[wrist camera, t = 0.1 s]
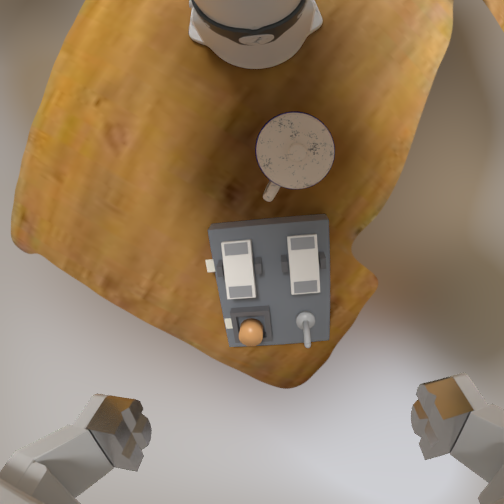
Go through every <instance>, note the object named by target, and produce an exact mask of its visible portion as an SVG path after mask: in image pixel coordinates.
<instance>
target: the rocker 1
mask: <svg viewBox="0 0 504 504" xmlns="http://www.w3.org/2000/svg"><path fill="white" fill-rule="evenodd" d="M221 247H222V257H223V266H224V275H225V283H226V292H227V299H241V298H256V284H255V274H254V263H253V253H252V242H251V239H247V240H235V241H224V242H222V243H221Z"/></svg>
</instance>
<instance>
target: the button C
mask: <svg viewBox="0 0 504 504" xmlns="http://www.w3.org/2000/svg"><path fill="white" fill-rule="evenodd" d="M262 339H263V325H262V323H261V322H260V321H259V320H257V319H253V318H249V319H246V320H244V321H243V322H242V323H241V325H240V331H239V340H240V342H241V343H242V344H244V345H246V346H256V345H258V344H260V343H261V341H262Z"/></svg>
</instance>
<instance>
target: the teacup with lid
mask: <svg viewBox="0 0 504 504" xmlns="http://www.w3.org/2000/svg"><path fill="white" fill-rule="evenodd" d="M255 153H256V159H257V162H258V165H259V167H260V169H261V171H262V172H263V174H264V175H265V176H266V177H267V178H268V179H269V182H268V184H267V187H266V189H265V191H264V194H263V199H264V200H266V201H268V202H270V201H272V200H273V199H274V197H275V196H276V194H277V192H278V190H279V189H280V187H284V188H287V189H304V188H308V187H311V186H313V185H315V184H317V183H318V182H320V181H321V180H322V179H323V178H324V177H325V176H326V175H327V174H328V172H329V171H330V169H331V167H332V164H333V161H334V156H335V146H334V141H333V138H332V135H331V133H330V132H329V130H328V129H327V127H326V126H325V125H324V124H323V123H322V122H321V121H320V120H319V119H317V118H316V117H314V116H312V115H310V114H307V113H303V112H286V113H282V114H279V115H277V116H275V117H273V118H272V119H271V120H269V121H268V122H267V123H266V124H265V125H264V126H263V128H262V129H261V131H260V132H259V135H258V137H257V141H256V146H255Z"/></svg>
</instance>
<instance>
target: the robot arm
mask: <svg viewBox="0 0 504 504" xmlns="http://www.w3.org/2000/svg"><path fill="white" fill-rule="evenodd" d="M189 7H190V8H192V11H191V17H190V26H189V36H190V38H191V39H192V40H193V41H195V42H198V43H200V44H203V45H206V46H208V47H209V48H210V49H211V50H212V51H213V52H214V53H215V54H216V55H218V56H219V57H220V58H221V59H223V60H224V61H226V62H228V63H230V64H232V65H235V66H238V67H242V68H248V69H263V68H269V67H273V66H276V65H278V64H281V63H283V62H285V61H286V60H288V59H289V58H291V57H292V56H293V55H294V54H295V53H296V52H297V51H298V50H299V49H300V47H301V46H302V44H303V43H304V41H305V39H306V38H307V36H308V35H309V34H311V33H313V32H314V31H316V30H317V29H319V28H320V27H321V25H322V22H323V19H322V16H321V13H320V11H319V9H318V7H317V4H316V2H315V0H189ZM416 395H417V397H418V400H417V401H416V402H415V403H414V404H413V407H412V411H411V423H412V427H413V430H414V433H415V434H417V435H418V436H420V437H421V440H420V443H419V445H420V448H421V450H422V453H423V456H424V458H425V460H427V459H431V458H434V457H438V456H441V455H445V454H448V453H450V455H452V456H453V457H454V458H456V459H457V460H458V461H460V462H461V463H463V464H464V465H465V466H466V467H468V468H469V469H471V470H472V471H473V472H475V473H476V474H477V475H479V476H480V477H482V478H483V479H484V480H486V481H487V482H488V483H489V484H488V485H487V486H486V488H485V489H484V490H483V491H482V492H481V494H480V495H479V497H478V499H479V502H480V504H504V409H502V408H500V407H498V406H496V405H494V404H491V405H488V403H487V402H486V401H485V399H484V398H483V396H482V395H481V393H480V392H479V391H478V389H477V388H476V386H475V385H474V384H473V382H472V381H471V379H470V378H469V376H468V375H467V374H465V373H461V374H457V375H453V376H450V377H446V378H443V379H439V380H435V381H431V382H427V383H423V384H420V385H419V387H418V389H417V393H416ZM142 410H143V407H142V405H141V403H140V401H138V400H136V399H129V398H122V397H116V396H108V395H103V394H95V395H93V396H92V397H91V399H90V400H89V401H88V403H87V405H86V406H85V407H84V409H83V410H82V411H81V413H80V414H79V416H78V417H77V419H76V420H75V422H74V423H73V425H72V426H71V425H67V426H65V427H63V428H61V429H59V430H57V431H55V432H53V433H51V434H49V435H47V436H45V437H43V438H41V439H39V440H37V441H35V442H33V443H31V444H29V445H27V446H25V447H22V448H20V449H18V450H16V451H15V452H14V453H13V455H12V456H11V458H10V459H9V460H8V462H7V463H6V464H5V466H4V467H3V469H2V470H1V472H0V504H80V503H79V502H78V501H77V500H76V499H75V497H77V496H78V495H80V494H81V493H82V492H84V491H85V490H86V489H88V488H89V487H90V486H92V485H93V484H94V483H96V482H97V481H98V480H99V479H101V478H102V477H103V476H105V475H106V474H107V473H108V472H110V471H111V470H112V469H113V467H116V468H122V469H126V470H132V471H138V468H139V466H140V464H141V461H142V459H143V457H144V455H143V453H142V449H144V448H145V447H147V446H148V445H149V442H150V439H151V425H150V422H149V420H148V418H147V417H145V416H144V415H143V414H142Z"/></svg>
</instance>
